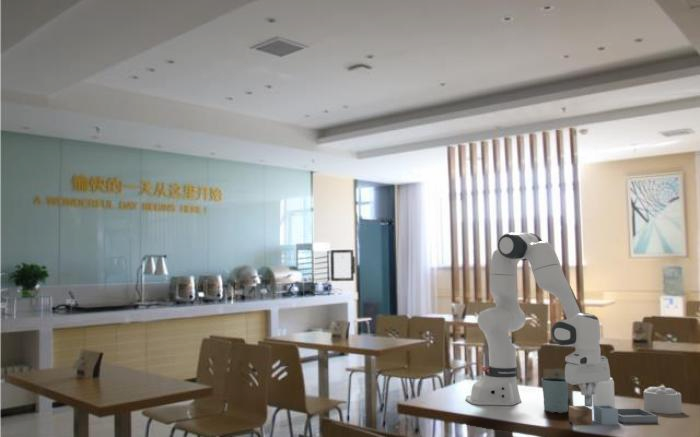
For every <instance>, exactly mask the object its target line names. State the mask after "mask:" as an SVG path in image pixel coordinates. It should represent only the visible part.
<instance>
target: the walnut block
mask: <svg viewBox="0 0 700 437" xmlns="http://www.w3.org/2000/svg"><path fill="white" fill-rule="evenodd" d="M568 422H570V423H571V424H573V425H575V426H593V409H592V408H591V407H587V406H585V405H568Z"/></svg>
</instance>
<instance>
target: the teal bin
mask: <svg viewBox="0 0 700 437" xmlns="http://www.w3.org/2000/svg"><path fill="white" fill-rule="evenodd" d="M541 389H542V393H543V404H544V410H545V411H546V412H548V411H549V413H554V412H558V413H559V414H562V413H563V412H564V413H567V412H569V384H568V383H567V382H566V381H565V377H559V376H558V377H557V376H555V377H554V376H551V377H550V376H548V377H543V378H541ZM558 413H557V414H558ZM564 413H563V414H564Z"/></svg>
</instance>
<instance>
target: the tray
mask: <svg viewBox="0 0 700 437" xmlns="http://www.w3.org/2000/svg"><path fill="white" fill-rule="evenodd" d="M617 409H618V423H621V424H623V425H625V424H626V425H628V424H631V423H636V424H658V423H659V420H658V419H659V416H658V415H656V414H654V413H653V412H649V411H645V410H644V408H643V409H642V408H640V407H638V408H636V407H635V408H617Z"/></svg>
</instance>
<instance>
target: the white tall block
mask: <svg viewBox="0 0 700 437" xmlns="http://www.w3.org/2000/svg"><path fill="white" fill-rule="evenodd" d="M615 404H616V402H615V380H614V379H613V377H611V376H610V379H609V381H601V382H598V385H597V387H596V389H595V394H592V407H593V408H594V406H597V405H610V406H612V407H615V408H616V405H615Z"/></svg>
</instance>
